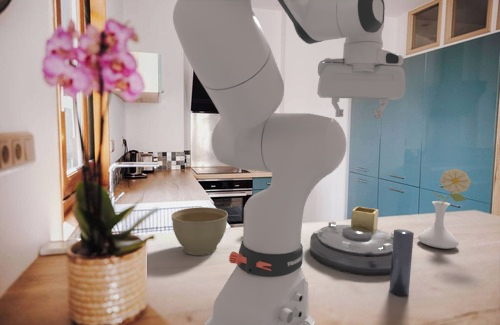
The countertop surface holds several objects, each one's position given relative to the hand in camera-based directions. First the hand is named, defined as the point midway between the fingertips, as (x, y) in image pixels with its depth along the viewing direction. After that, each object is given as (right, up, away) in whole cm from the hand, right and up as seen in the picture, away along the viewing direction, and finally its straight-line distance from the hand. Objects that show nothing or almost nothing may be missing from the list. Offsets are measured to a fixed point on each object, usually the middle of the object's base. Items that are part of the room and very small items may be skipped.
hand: (358, 117), depth 81 cm
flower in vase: (+34, -38, +25) cm, 56 cm away
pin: (+7, -40, -6) cm, 41 cm away
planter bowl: (-41, -37, +17) cm, 58 cm away
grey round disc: (+4, -34, +15) cm, 37 cm away
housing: (+4, -38, +15) cm, 41 cm away
